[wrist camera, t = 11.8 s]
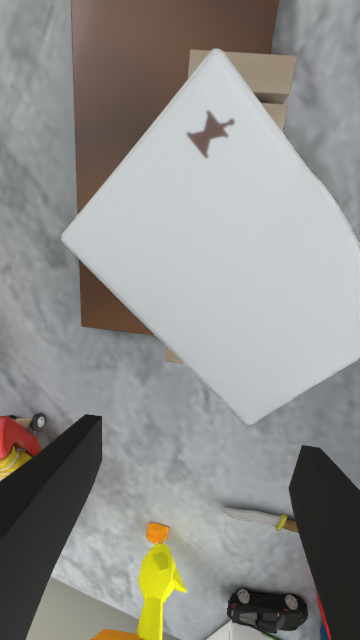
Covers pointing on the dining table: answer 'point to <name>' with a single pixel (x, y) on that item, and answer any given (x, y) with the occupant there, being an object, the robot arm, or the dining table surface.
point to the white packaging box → (238, 633)
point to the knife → (261, 518)
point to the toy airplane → (18, 441)
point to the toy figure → (152, 588)
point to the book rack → (155, 91)
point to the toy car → (267, 611)
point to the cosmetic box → (228, 247)
